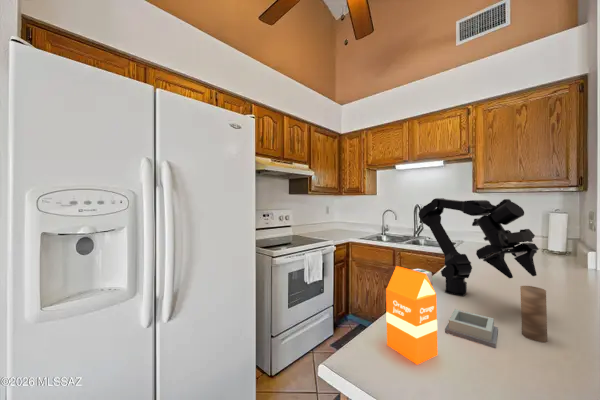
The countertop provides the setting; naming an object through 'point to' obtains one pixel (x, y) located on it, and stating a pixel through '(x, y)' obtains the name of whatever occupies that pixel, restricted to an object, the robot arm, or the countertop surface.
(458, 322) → the dock
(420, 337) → the orange juice
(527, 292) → the walnut plug
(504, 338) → the countertop surface
